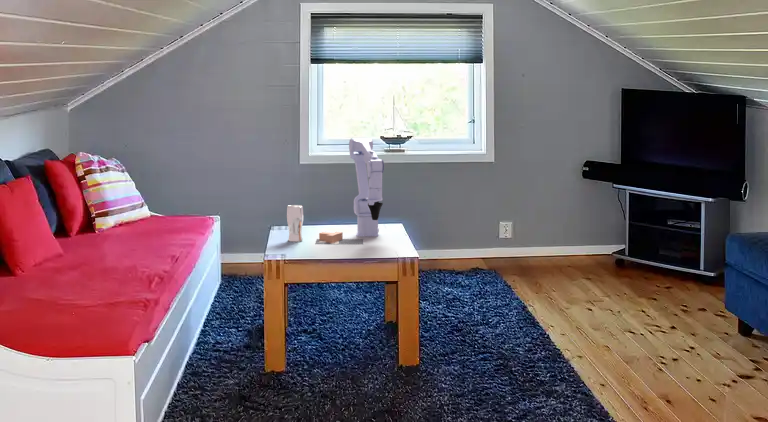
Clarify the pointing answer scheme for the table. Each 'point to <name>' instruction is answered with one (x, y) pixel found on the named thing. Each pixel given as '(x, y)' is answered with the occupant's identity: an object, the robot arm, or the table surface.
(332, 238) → the t block
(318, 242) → the t mat
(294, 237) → the beer glass
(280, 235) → the table surface
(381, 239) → the table surface
